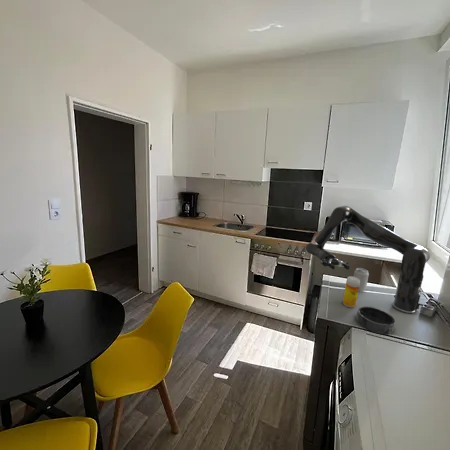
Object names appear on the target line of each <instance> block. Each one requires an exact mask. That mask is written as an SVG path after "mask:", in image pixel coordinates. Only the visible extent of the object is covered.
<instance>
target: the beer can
mask: <svg viewBox="0 0 450 450" xmlns="http://www.w3.org/2000/svg"><path fill="white" fill-rule="evenodd" d="M359 285H360V279H359V278H357V277H354V275H353V276H352V275H350V276H347V278H346V281H345V286H344V293H343V298H342V303H343V305H344V306H345V307H347V308H350V309H352V308H354V307H356V305H357V301H358V295H359V291H360V290H359Z"/></svg>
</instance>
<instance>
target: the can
mask: <svg viewBox="0 0 450 450" xmlns="http://www.w3.org/2000/svg"><path fill="white" fill-rule="evenodd" d="M369 276H370V273H369V270H367V269H365V268H362V267H357V268H356V269H355V270H354V273H353V277H357V278H359V279H360V285H359V291H363V292H364V291H366V289H367V286H368V285H367V284H368V281H369Z"/></svg>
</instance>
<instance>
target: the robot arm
mask: <svg viewBox="0 0 450 450" xmlns="http://www.w3.org/2000/svg"><path fill="white" fill-rule="evenodd" d="M343 222H346V223H347V222H348V223H349V224H351V225H352V226H355V227H356V228H357V229H358V230H359V231H360V232H361V233H362V235H363V236H365V238H367V239H369V240H371V241H373V243H374V242H375V243H376V244H379V245H380V246H383V247H387V248H388V249H389V248H390V249H392V250H394V251H397V252H398V253H400V254H401V255H402V258H401V261H400V262H401V263H400V268H399V272H400V273H399V277H398V282H397V286H396V291H395V294H394V296H393V298H394V299H393V303H392V307H393V308H394V309H396V310H397V311H399V312H402V313H406V314H414V313H416V312H417V311H418V310H419V308H420V307H423V305H424V304H422V303H420V299H421V294H420V292H421V289H422V284H423V281H424V271H425V268H426V264H427V263H428V262H429V261H430V259H431V254H430V252H429V251H428V250H427V249H426V248H424V247H423V246H421V245H419V244H416V243H413V242H412V241H409V240H407V239H405V238H403V237H402V236H400V235H398V234H397V233H395V232H393V231H391V230H390V229H388V228H386V227H385V226H383V225H381V224H379V223H377V222H375V221H373V220H372V219H369V218H368V217H366V216H364V215H362V214H360V213H359V212H357V211H356V210H355V209H353V208H352V207H350V206H348V205H340V206H337V207H335V208H334V209H333V211H332V212H331V214H330V216H329V218H328V219H327V221H326V223H325V225H324V226H323V228H322V229H321V230H320V231H319V233H318V234H317V235H316V237H315V239H314V241H315V243H314V242H308V243H307V244H306V246H305V250H306V252H307V253H308V254H309V255H312V256H314V257H316V258H317V259H318V260H319V261H320V264H321V265H322V266H323V267H324V268H325V267H328V268H330V269H331V270H336V269H335V268H336V267H340V268H341V267H342V268H344V269H345V270H350V265H349V262H348V261H347V260H345V259H342V258H341V259H338V258H337V257H336V255H335V254H333V253H332V252H330V251H329V250H326V249H325V245H326V244H327V242H329V240H330V239H331V237H332V236H333V233H334V231H335V229H336V228H337V227H338V226H339V225H341V223H343Z"/></svg>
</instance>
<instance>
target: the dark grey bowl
mask: <svg viewBox="0 0 450 450" xmlns="http://www.w3.org/2000/svg"><path fill="white" fill-rule="evenodd" d="M355 321H356V323H357V324H358V325H360V327H362V328H363V329H365V330H367V331H370V332H371V333H375V334H379V335H390V334H392V333H393V332H394V328H395V324H396V319H395V318H394V317H393V316H392V315H391V314H389V313H388V312H386V311H384V310H382V309H380V308H377V307H373V306H359V307H358V308H357V311H356V317H355Z"/></svg>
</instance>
